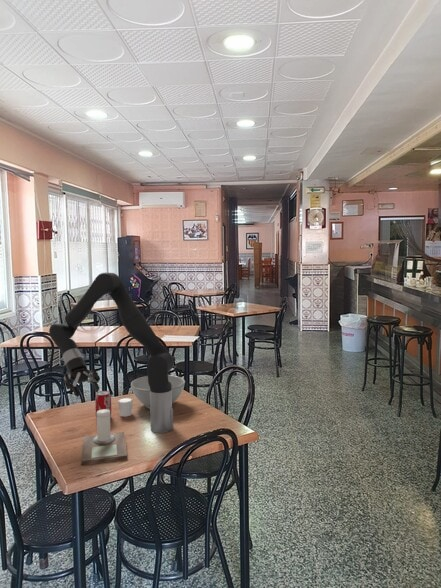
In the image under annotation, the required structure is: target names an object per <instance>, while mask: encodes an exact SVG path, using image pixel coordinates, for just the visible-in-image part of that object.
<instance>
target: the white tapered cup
mask: <svg viewBox="0 0 441 588" xmlns="http://www.w3.org/2000/svg"><path fill="white" fill-rule="evenodd" d="M133 400H134V399H133V398H131V397H123V398H120V399H117V404H118V405H117V406H118V414H119V416H120V417H123V418H124V417H129V416H132V413H133Z"/></svg>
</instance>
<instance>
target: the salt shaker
mask: <svg viewBox="0 0 441 588" xmlns="http://www.w3.org/2000/svg"><path fill="white" fill-rule="evenodd" d="M96 427H97V428H96V431H97V433H96V435H97V437H98V441H107V440H109V439H111V417H110V410H107V409H103V410H99V411H97V418H96Z"/></svg>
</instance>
